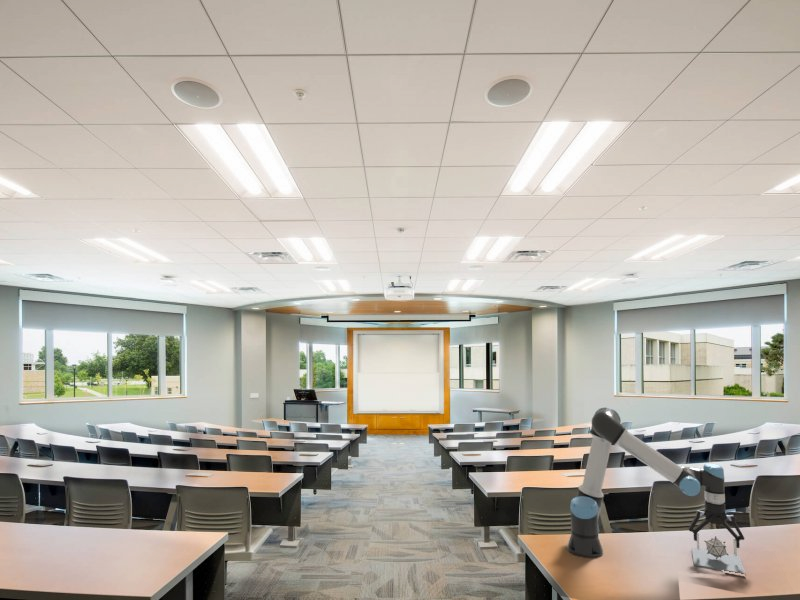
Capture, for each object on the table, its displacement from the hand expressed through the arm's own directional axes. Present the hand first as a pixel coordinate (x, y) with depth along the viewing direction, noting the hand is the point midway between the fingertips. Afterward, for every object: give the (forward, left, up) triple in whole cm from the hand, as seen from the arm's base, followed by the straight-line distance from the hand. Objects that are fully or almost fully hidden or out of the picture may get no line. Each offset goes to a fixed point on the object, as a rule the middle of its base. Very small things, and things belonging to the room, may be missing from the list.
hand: (716, 551), depth 215 cm
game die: (0, 0, -4) cm, 4 cm away
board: (0, 0, -5) cm, 5 cm away
